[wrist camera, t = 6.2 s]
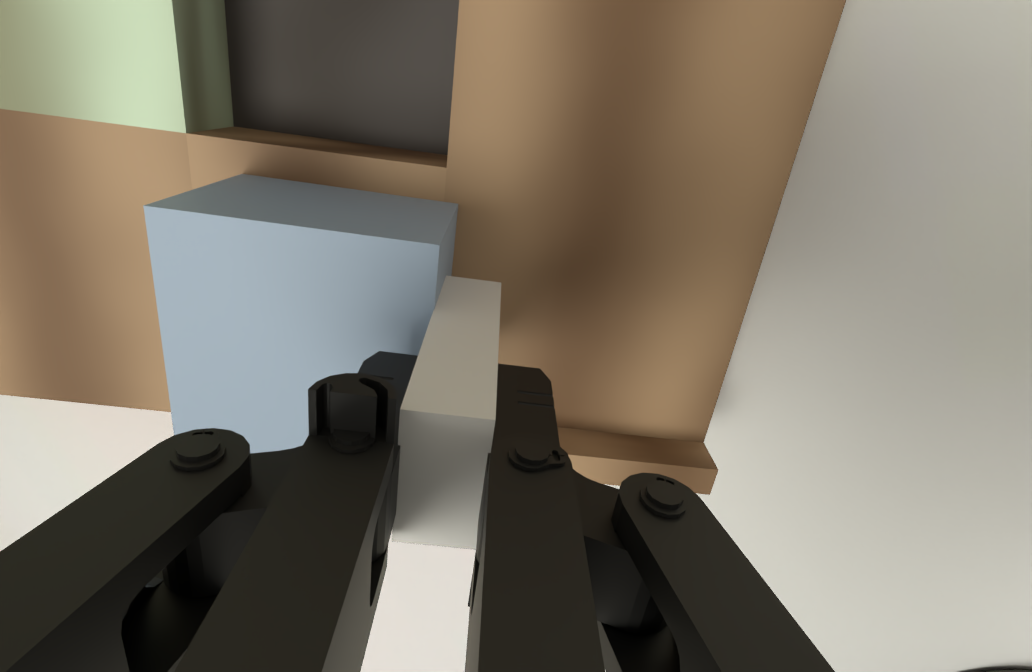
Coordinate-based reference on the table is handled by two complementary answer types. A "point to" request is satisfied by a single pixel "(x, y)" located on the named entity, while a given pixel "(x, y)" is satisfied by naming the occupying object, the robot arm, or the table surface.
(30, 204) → the wooden tray
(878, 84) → the table surface
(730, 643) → the robot arm
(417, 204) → the block
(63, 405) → the table surface
